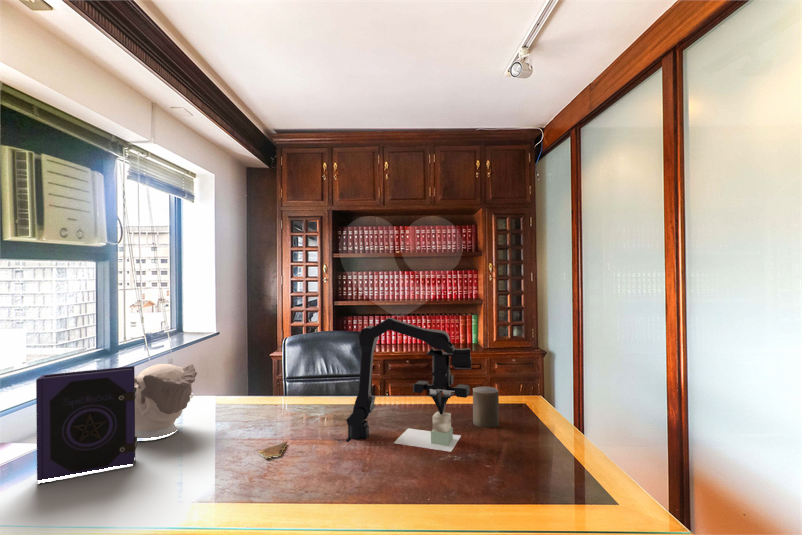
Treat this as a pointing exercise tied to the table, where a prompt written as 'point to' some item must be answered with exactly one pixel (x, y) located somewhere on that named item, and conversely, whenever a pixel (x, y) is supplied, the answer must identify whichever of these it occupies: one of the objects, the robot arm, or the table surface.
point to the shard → (273, 450)
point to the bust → (161, 398)
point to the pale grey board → (424, 440)
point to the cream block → (442, 422)
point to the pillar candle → (485, 407)
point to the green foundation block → (442, 437)
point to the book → (85, 421)
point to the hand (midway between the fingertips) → (441, 414)
